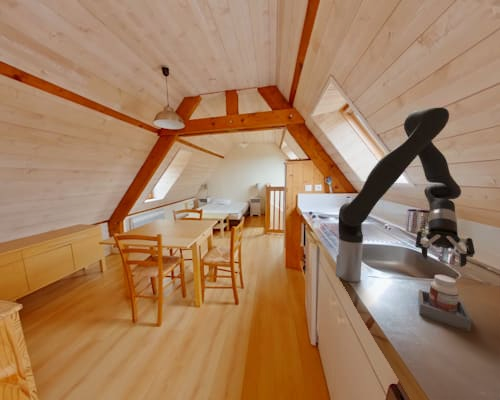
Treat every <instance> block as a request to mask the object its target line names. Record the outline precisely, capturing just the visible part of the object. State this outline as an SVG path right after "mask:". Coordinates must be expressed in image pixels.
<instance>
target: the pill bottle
mask: <svg viewBox="0 0 500 400" xmlns="http://www.w3.org/2000/svg"><path fill="white" fill-rule="evenodd" d="M433 279H434V280H433V281H431V283H430V287H429V292H430V295H429V306H431V307H435V308H438V309H441V310H444V311H447V312H450V313H454V314H456V310H457V302H458V301H459V300H458V299H459V288H457V287H456V286H457V281H456V279H455V278H453V277H450V276H449V275H448V276H447V275H444V274H435V275H434V278H433Z"/></svg>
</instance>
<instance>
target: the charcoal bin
mask: <svg viewBox="0 0 500 400" xmlns="http://www.w3.org/2000/svg"><path fill="white" fill-rule="evenodd" d="M429 295H430V291H429V292H428V291H425V290H422V289H418V296H417V301H418V312H419V315H420V316H422V317H426V318H429V319H432V320H435V321H437V322H440V323H443V324H446V325H449V326H451V327H454V328H457V329H460V330H463V331H465V332H469V333H471V328H472V318H471V316H470V313H469V311H468V309H467V308H466V305H465V303H464V301H461V300H458V302H457V310H456V314H454V313H450V312H447V311H444V310H441V309H438V308H435V307H431V306H429Z"/></svg>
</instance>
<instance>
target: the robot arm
mask: <svg viewBox="0 0 500 400" xmlns="http://www.w3.org/2000/svg"><path fill="white" fill-rule="evenodd" d="M449 120H450V112H449V110H448V109H446V108H445V107H439V106H438V107H431V108H425V109H420V110H415V111H412V112H411V113H409V114H408V115H407V116H406V118H405V120H404V122H403V130H404V132H405V134H406V136H407V139H406V140H405V141H404V142H403V143H401V144H400V145H398V146H397V147H395V148H394V149H393V150H391V151H389V152H388V153H387V154H385V155H383V156H382V157H381V158H380V160H379V161H378V162H377V163H376V165H374V166H373V168H372V169H371V171H370V172H369V174H368V176H367V178H366V180H365V182H364V184H363V186H362V189H360V191H359V193H358V194H357V195H356V196H355V198H354V199H352V200H351V202H346V203H344V204H342V205H341V206H340V208H339V212H338V226H337V227H338V228H337V229H338V245H337V246H338V250H337V255H336V261H335V262H336V263H335V277H337V278H339V279H340V280H343V281H345V282H349V283H358V282H360V281H361V277H362V258H363V244H364V234H363V228H362V227H363V225H362V224H363V223H364V222H365V221H366V220H367V218H368V217H369V215H370V213H371V212H372V210H373V209H374V208H375V207H376V205H377V203H378V202H379V201H380V199H382V198H383V197H384V196H385V194H386V193H387V192H388V191H389V190H390V188H391V187H392V186H393V185H394V184H395V183H396V182H397V181H398V180H399V178H400V177H401V176H402V175H403V173H404V172H405V171H406V170H407V169H408V167H409V166H410V165H411V163H412V162H413V161H414V160H415V159H416V158H417V157H418V158H419V160H420V162H421V166H422V169H423V173H424V176H425V179H426V181H427V182H428V183H432V184H430V185H429V184H428V185H427V186H426V187H425V188H424V190H423V192H424V196H425V198H426V199H427V201H428V204H429V214H428V221H427V223H428V228H427V229H428V230H427V233H423V232H422V231H417V233H416V239H415V240H416V241H415V245H414V246H415V247H416V248H417V249H421V257H422V258H423V259H424V260H428V249H430V248H432V247H434V246H435V247H436V248H444V249H446V250H447V249H451V250H452V251H453V253H455V254H457V255H458V265H459V267H461V268H464V266H466V265H467V263H468V261H467V259H468V258H473V257H474V255H475V254H476V251H475V247H474V243H473V238H471V237H467V238H460V237H459V233H458V219H457V216H456V206H455V202H453V200H455V199H458V198H459V197H460V196H461V194H462V189H461V187H460V185H459V184H458V183H457V182H456V180H455V179H454V178H453V176H452V174H451V172H450V169H449V164H448V161H447V159H446V157H445V155H444V154H443V153H442V152H441V151H440V149H438V148H437V147H436V145H435V144H434V143H433V140H434V139H436V137H437V136H438V135H439V134H440V133H441V132H442V131H443V130H444V128H445V127H446V126H447V124H448V122H449ZM424 238H426V239H427V241H426V242H425V243H421V240H424ZM459 243H461V244H462V245H463V246H465V249H463V248H462V246H461V245H460V244H459Z"/></svg>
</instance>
